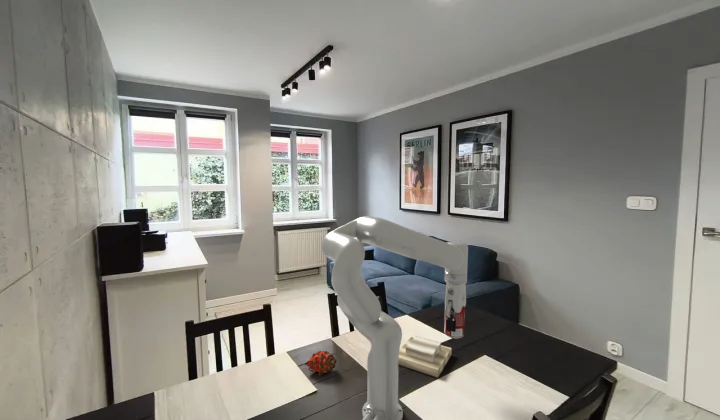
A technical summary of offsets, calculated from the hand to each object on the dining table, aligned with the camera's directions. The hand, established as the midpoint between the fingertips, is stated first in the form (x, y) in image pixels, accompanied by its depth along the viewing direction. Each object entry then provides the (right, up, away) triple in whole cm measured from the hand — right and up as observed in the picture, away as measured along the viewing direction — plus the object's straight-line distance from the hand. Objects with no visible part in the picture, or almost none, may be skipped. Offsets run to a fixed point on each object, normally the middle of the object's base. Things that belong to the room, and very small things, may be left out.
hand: (454, 326), depth 110 cm
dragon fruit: (-48, -21, +9) cm, 53 cm away
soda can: (0, -3, 0) cm, 3 cm away
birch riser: (-7, -20, +18) cm, 28 cm away
